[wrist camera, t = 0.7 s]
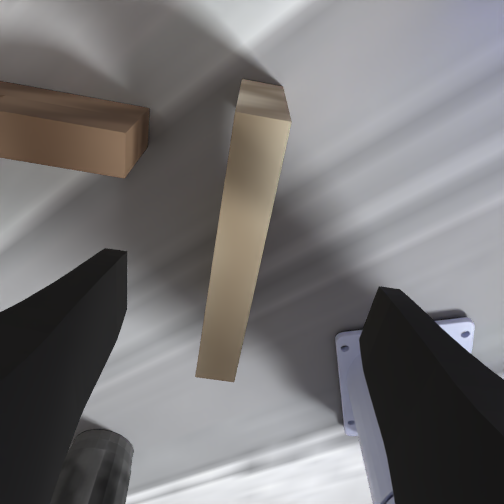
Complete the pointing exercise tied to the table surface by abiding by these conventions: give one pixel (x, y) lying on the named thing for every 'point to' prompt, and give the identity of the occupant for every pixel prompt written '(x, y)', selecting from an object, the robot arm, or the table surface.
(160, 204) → the table surface
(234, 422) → the table surface
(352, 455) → the table surface
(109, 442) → the beverage cup
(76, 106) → the notched walnut block
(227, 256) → the beige wooden plank
